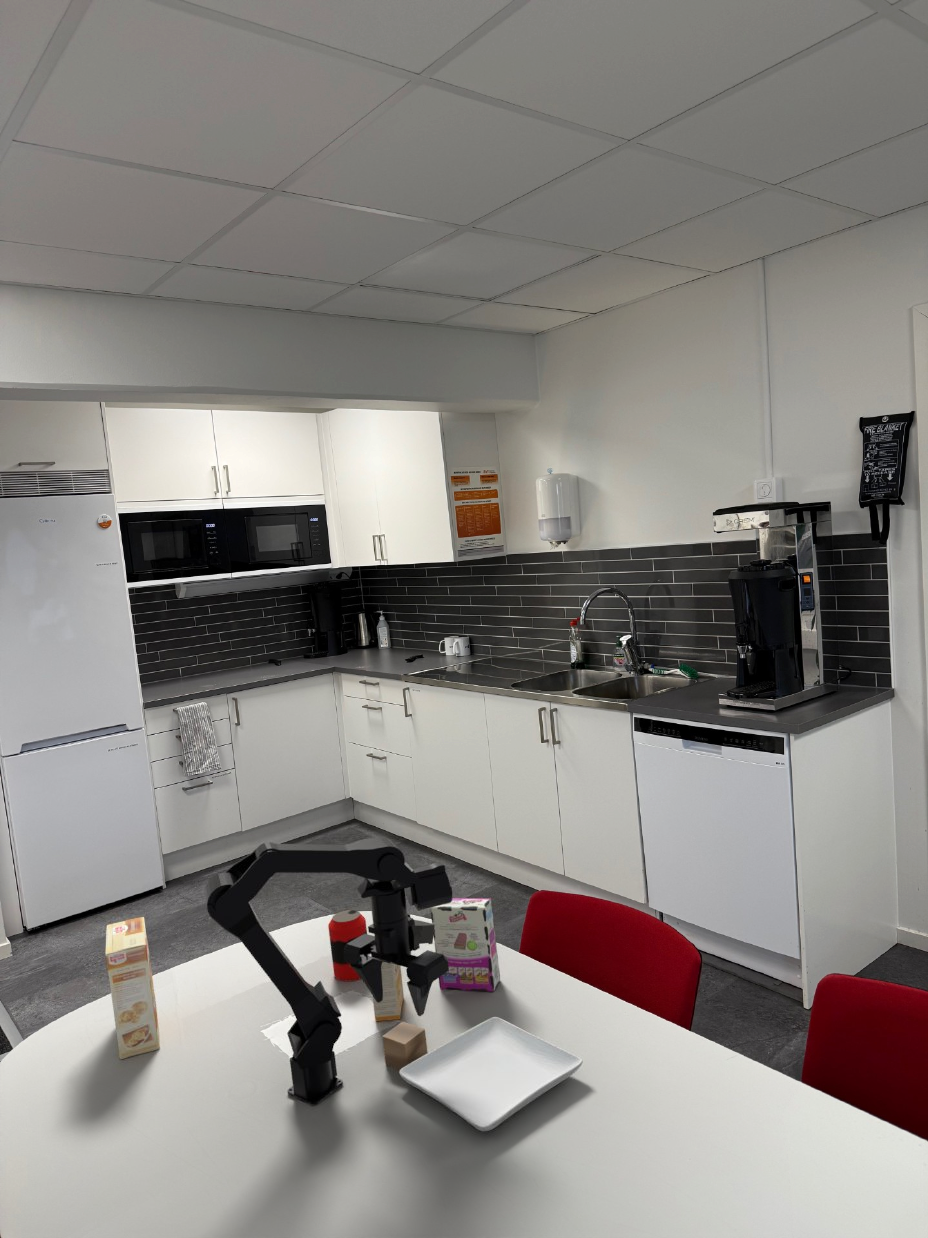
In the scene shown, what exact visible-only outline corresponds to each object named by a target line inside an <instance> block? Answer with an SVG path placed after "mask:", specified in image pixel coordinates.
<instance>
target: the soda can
mask: <svg viewBox="0 0 928 1238" xmlns="http://www.w3.org/2000/svg"><path fill="white" fill-rule="evenodd" d="M327 927H328V935H329V943H330V951H331V961H332V968H333V976H334V977H335V978H336V979H337V980H339V981H341V982H354V981H357V980H362V979H361V978H360V977H359V975H358V974H357V973H356V971H355V970H354V969H353V968H351V967H350V963H347V962H345V961H344V952H343V951H344V949H345V946H346V944H347V943H349V942H351V941H353V940H354V939H356V938H358V937H360V936H361V935H363V934H368V927H367V921H366V917H365V916H364V915H363V914H362V913H360V911H358V910H354V909H350V910H349V909H348V910H347V909H346V910H343V911H339V912H337V913H335V914H333V916H332V918H331V919H330V921H329V923H328V925H327Z"/></svg>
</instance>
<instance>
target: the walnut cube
mask: <svg viewBox="0 0 928 1238" xmlns="http://www.w3.org/2000/svg"><path fill="white" fill-rule="evenodd" d="M382 1045H383V1053H384V1061H385V1066H386V1067H390V1068H394V1069H395V1070H397V1071H400V1070H401V1069H402V1068H403V1067H405V1066H407V1065H408V1064H410V1063H412V1062H413V1061H415V1060H417V1059H419V1058H420V1057H422V1056H424V1055H426V1054H427V1053H429V1052H428V1044H427V1036H426V1029H425V1028H423V1027H420V1026H417V1025H414V1024H411V1023H408V1022H405V1021H401V1022H400V1023H399V1024H397V1025H395V1026H394V1027H393V1028H392V1029H390V1030H389V1031H387V1032H386V1033H385V1034H383V1035H382Z"/></svg>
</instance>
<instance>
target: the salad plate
mask: <svg viewBox="0 0 928 1238" xmlns="http://www.w3.org/2000/svg"><path fill="white" fill-rule="evenodd" d="M583 1060H584V1059H582V1058H581V1057H579V1056H577V1055H575V1054H573V1053H572V1052H568V1050H565V1049H563V1048H560V1047H558V1046H557V1045H554V1044H552V1043H551V1042H549V1041H546V1040H545V1039H542V1038H541V1037H539V1036H537V1035H534V1034H533V1033H531V1032H528V1031H526V1030H524V1029H522V1028H520V1027H518V1026H517V1025H516V1024H513V1023H512V1022H509V1021H507V1020H504V1019H503V1018H500V1017H498V1016H493V1017H490V1018H488V1019H487V1020H484V1021H483V1022H481V1023H479V1024H477V1025H475V1026H473V1027H471V1028H469V1029H468V1030H466V1031H464V1032H462V1033H461V1034H459V1035H457V1036H455V1037H454V1038H452V1039H450V1040H448V1041H447V1042H444V1044H441V1045H440V1046H438V1047H436V1048H435V1049H433V1050H431V1051H429V1052H428V1053H427V1054H426V1055H424V1056H422V1057H420V1058H419V1059H417V1060H415V1061H413V1062H412V1063H410V1064H408V1065H407V1066H405V1067H403V1068H402V1069H401V1070H398V1071H399V1075H400V1077H401V1078H402V1079H403V1080H404V1081H405V1082H406V1083H407V1084H410V1085H411V1086H412V1087H415V1088H416V1089H418V1090H419V1091H421V1092H423V1093H424V1094H426V1095H428V1096H429V1097H431V1098H432V1099H434V1100H436V1101H437V1102H439V1103H440V1104H442V1105H444V1106H445V1107H447V1108H448V1109H449V1110H450V1111H452V1112H454V1113H455V1114H457V1115H458V1116H459V1117H461V1118H462V1119H463V1120H465V1121H466V1122H467V1123H468V1124H470V1125H471V1126H472V1127H474V1128H475V1129H476V1130H477V1131H478V1130H479V1131H481V1132H488V1131H491V1130H493V1129H495V1128H496V1127H498V1126H500V1124H502V1123H503V1122H504V1121H506V1120H507V1119H509V1118H510V1117H511V1116H513V1115H514V1114H516V1113H517V1112H518V1111H521V1109H523V1108H524V1107H526V1106H527V1105H528V1104H531V1102H533V1101H534V1100H535V1099H537V1098H539V1097H540V1096H542V1095H543V1094H545V1093H546V1092H548V1091H549V1090H550V1089H552V1088H554V1087H555V1086H556V1085H558V1084H560V1083H562V1082H563V1081H564V1080H567V1079H568V1078H569V1077H571V1076H572V1075H573V1074H575V1072H577V1071H578V1070H579V1069H580V1067H581V1066H582V1065H583V1063H584V1061H583Z"/></svg>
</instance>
